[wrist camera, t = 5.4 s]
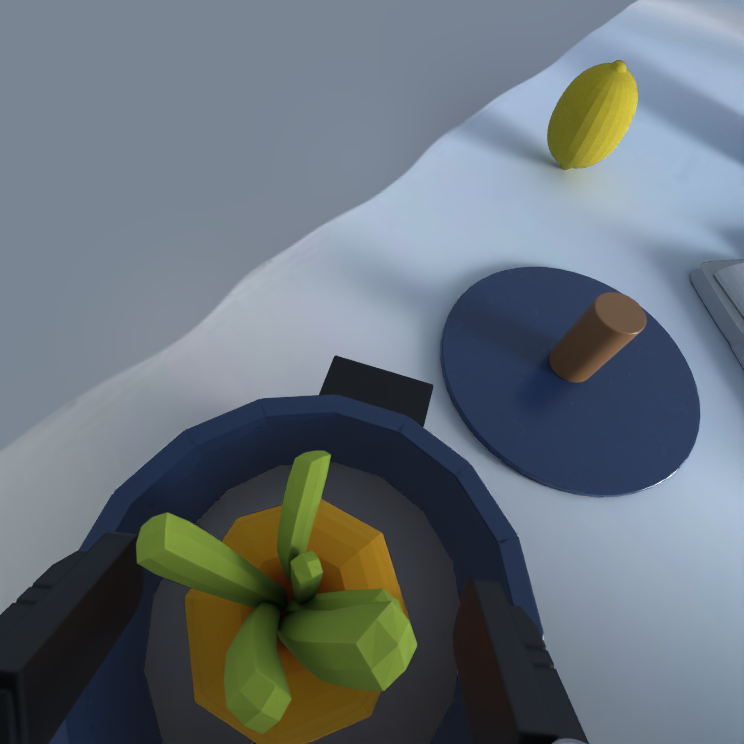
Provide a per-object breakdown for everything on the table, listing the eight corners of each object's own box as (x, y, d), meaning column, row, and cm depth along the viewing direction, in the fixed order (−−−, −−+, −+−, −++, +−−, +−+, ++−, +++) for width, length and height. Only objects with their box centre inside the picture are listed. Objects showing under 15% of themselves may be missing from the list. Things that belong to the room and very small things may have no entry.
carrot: (228, 604, 18) (-23, 576, 5) (322, 525, 20) (318, 357, 7) (297, 716, 16) (192, 1104, 3) (392, 619, 18) (559, 630, 5)
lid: (611, 260, 31) (663, 195, 26) (749, 463, 24) (856, 425, 19) (409, 286, 28) (426, 217, 23) (497, 529, 21) (550, 503, 16)
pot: (243, 380, 23) (220, 313, 18) (504, 460, 22) (559, 414, 17) (0, 854, 14) (-193, 998, 9) (431, 1021, 13) (502, 1289, 8)
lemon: (604, 166, 36) (669, 61, 30) (583, 199, 34) (650, 93, 27) (545, 140, 38) (595, 33, 31) (521, 170, 35) (569, 61, 28)
